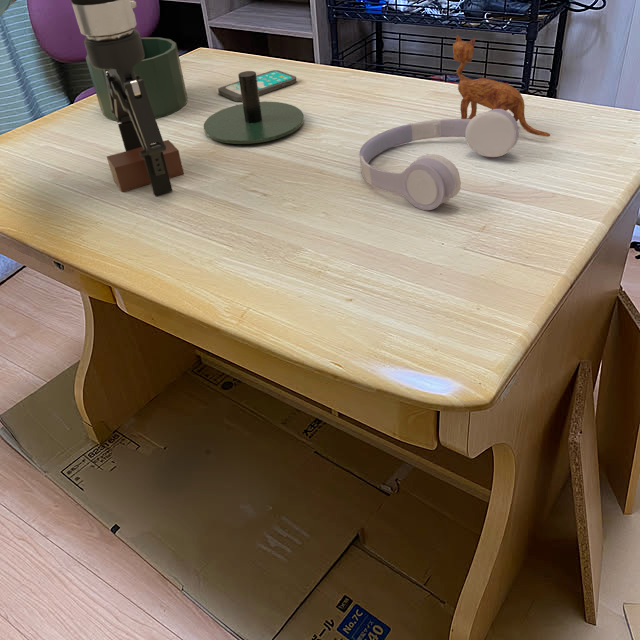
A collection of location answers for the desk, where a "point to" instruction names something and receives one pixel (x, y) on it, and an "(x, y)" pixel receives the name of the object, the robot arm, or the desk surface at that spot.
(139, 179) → the chocolate bar
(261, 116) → the tin lid
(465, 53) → the cat figurine
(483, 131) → the headphones
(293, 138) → the desk surface
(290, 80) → the smartphone
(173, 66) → the trash tin
